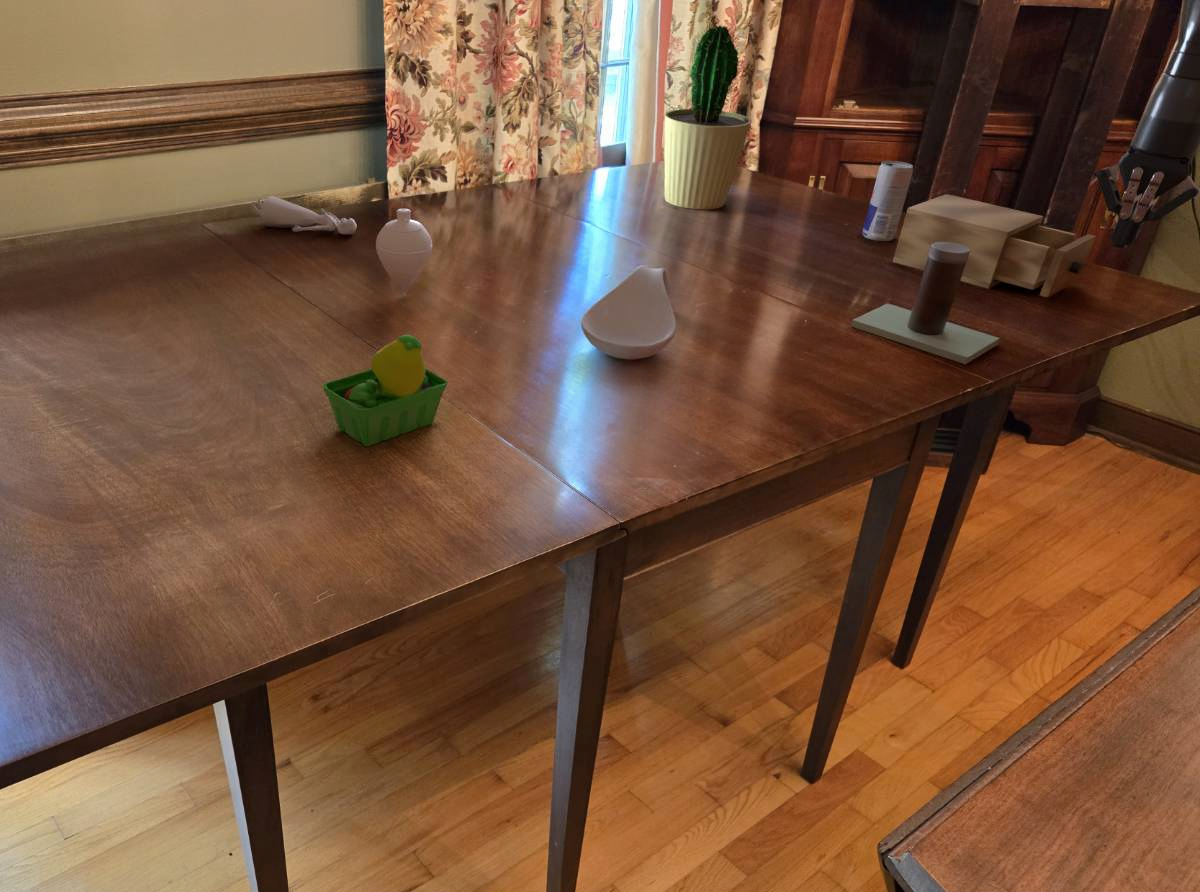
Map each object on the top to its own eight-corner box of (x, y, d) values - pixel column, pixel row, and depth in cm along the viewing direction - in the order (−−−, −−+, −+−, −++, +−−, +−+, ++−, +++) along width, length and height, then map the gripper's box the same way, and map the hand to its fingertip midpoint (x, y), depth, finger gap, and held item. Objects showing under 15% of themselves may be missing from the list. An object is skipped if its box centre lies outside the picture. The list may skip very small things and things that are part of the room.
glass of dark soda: (949, 329, 129) (976, 248, 123) (933, 338, 126) (960, 255, 120) (916, 319, 132) (941, 239, 125) (900, 327, 129) (925, 246, 123)
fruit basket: (406, 399, 108) (406, 302, 102) (457, 428, 103) (460, 329, 96) (321, 428, 102) (315, 327, 95) (371, 461, 96) (367, 357, 90)
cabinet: (1023, 270, 154) (1043, 216, 149) (988, 289, 146) (1008, 232, 141) (930, 245, 163) (946, 193, 158) (892, 261, 155) (907, 207, 150)
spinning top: (366, 300, 133) (364, 212, 126) (393, 283, 138) (392, 198, 132) (415, 310, 130) (415, 221, 123) (441, 293, 136) (442, 207, 129)
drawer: (1086, 282, 147) (1104, 237, 143) (1056, 300, 140) (1074, 254, 136) (985, 255, 157) (999, 213, 153) (951, 271, 149) (965, 227, 145)
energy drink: (872, 230, 169) (891, 159, 162) (900, 238, 166) (920, 165, 159) (855, 235, 166) (874, 163, 159) (883, 243, 163) (903, 170, 156)
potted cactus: (735, 216, 173) (770, 29, 156) (650, 207, 176) (674, 23, 159) (737, 194, 186) (769, 19, 168) (657, 186, 188) (680, 13, 171)
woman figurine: (270, 185, 162) (369, 204, 159) (271, 211, 165) (369, 231, 162) (237, 203, 153) (342, 224, 150) (238, 230, 155) (341, 252, 152)
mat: (997, 345, 128) (1000, 338, 127) (965, 364, 122) (967, 357, 121) (885, 309, 137) (887, 303, 136) (850, 326, 131) (852, 319, 131)
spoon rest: (663, 377, 115) (672, 321, 111) (568, 362, 118) (573, 306, 114) (690, 310, 134) (699, 259, 130) (608, 298, 137) (614, 248, 133)
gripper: (1113, 108, 126) (1061, 239, 136) (1227, 127, 118) (1163, 265, 128) (1131, 102, 130) (1080, 229, 140) (1243, 120, 123) (1180, 254, 133)
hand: (1120, 246), depth 134 cm, fingers closed
